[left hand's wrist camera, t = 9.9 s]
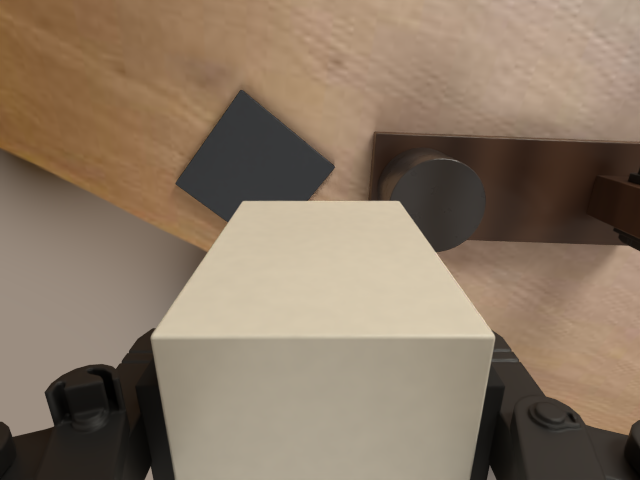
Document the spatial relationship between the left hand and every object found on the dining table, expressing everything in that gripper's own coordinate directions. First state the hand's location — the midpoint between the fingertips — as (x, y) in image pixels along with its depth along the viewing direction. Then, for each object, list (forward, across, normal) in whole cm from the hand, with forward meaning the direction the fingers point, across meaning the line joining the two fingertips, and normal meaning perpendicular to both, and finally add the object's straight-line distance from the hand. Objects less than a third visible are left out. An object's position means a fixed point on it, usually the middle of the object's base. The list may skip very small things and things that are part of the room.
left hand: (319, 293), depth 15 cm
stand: (+22, +16, -1) cm, 28 cm away
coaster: (+22, -6, 0) cm, 23 cm away
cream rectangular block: (+2, 0, 0) cm, 2 cm away
